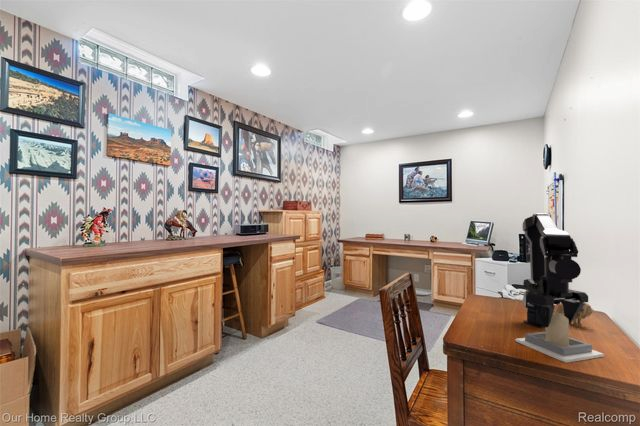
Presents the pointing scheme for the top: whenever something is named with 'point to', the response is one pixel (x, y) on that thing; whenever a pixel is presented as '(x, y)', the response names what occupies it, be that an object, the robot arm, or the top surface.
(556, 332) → the candle
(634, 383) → the top surface
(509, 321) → the top surface
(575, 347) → the candle tray
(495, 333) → the top surface
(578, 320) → the lion figurine
